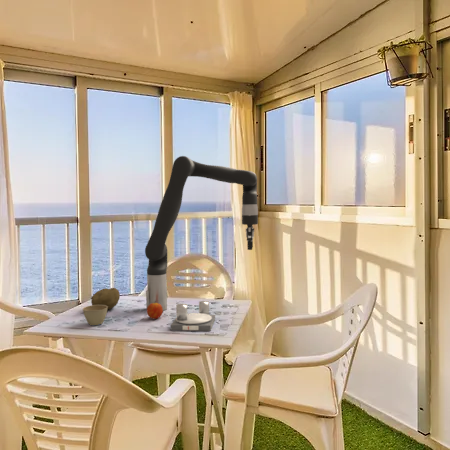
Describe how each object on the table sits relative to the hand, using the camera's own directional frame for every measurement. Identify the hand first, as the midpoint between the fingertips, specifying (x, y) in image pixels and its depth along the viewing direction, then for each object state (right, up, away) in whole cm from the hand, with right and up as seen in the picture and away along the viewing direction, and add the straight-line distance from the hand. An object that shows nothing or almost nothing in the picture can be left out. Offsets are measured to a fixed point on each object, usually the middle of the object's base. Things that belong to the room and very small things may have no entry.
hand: (250, 248), depth 193 cm
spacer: (-21, -30, -6) cm, 37 cm away
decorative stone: (-70, -30, +6) cm, 76 cm away
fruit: (-43, -31, -11) cm, 54 cm away
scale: (-25, -31, -22) cm, 45 cm away
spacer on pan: (-30, -28, -24) cm, 47 cm away
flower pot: (-67, -31, -19) cm, 76 cm away
